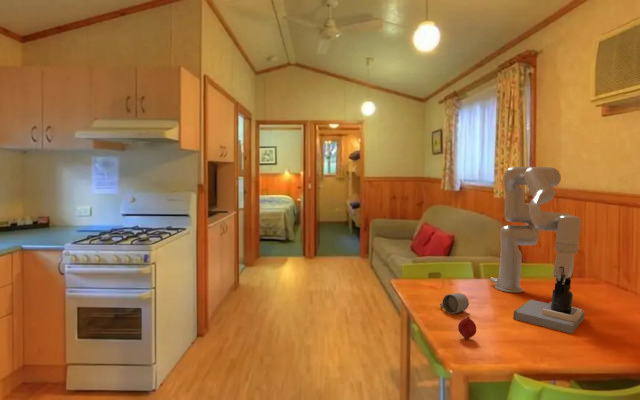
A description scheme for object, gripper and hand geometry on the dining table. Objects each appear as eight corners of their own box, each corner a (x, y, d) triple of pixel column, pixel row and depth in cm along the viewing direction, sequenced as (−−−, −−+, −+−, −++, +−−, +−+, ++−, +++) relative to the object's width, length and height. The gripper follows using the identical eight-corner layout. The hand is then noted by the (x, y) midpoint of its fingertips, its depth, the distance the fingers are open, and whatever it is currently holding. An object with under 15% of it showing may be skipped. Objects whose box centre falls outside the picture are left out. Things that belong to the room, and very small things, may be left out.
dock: (513, 318, 162) (514, 306, 161) (529, 306, 178) (530, 294, 177) (572, 333, 148) (573, 320, 148) (584, 318, 165) (585, 306, 164)
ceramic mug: (469, 312, 167) (470, 293, 166) (457, 316, 162) (458, 297, 161) (447, 305, 175) (448, 287, 175) (435, 309, 170) (436, 290, 170)
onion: (454, 335, 143) (456, 312, 142) (470, 335, 143) (472, 312, 143) (461, 342, 137) (463, 319, 137) (478, 342, 138) (480, 319, 137)
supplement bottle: (574, 317, 156) (576, 286, 155) (554, 315, 158) (556, 284, 157) (567, 311, 163) (569, 281, 162) (548, 309, 164) (550, 280, 164)
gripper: (560, 243, 167) (556, 284, 169) (549, 249, 154) (545, 293, 156) (582, 246, 162) (578, 288, 164) (572, 252, 149) (568, 298, 151)
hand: (562, 291), depth 160 cm, fingers open, 9 cm apart
